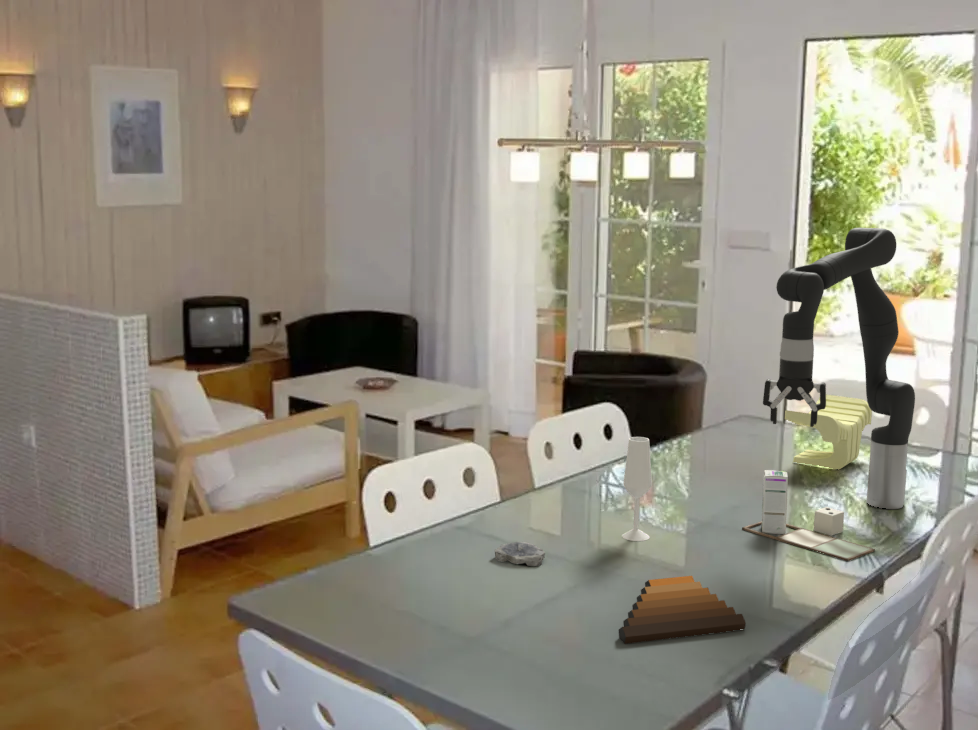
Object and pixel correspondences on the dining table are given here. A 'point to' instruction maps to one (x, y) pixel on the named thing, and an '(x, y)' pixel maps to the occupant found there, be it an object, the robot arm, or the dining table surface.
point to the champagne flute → (637, 480)
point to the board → (818, 542)
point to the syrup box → (774, 501)
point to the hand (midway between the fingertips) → (793, 424)
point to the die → (828, 521)
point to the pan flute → (677, 612)
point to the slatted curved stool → (835, 430)
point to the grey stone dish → (520, 553)
